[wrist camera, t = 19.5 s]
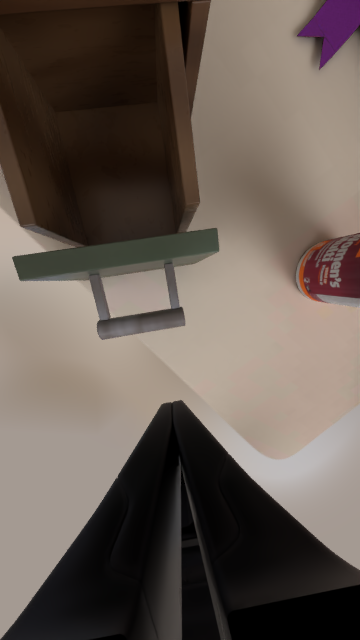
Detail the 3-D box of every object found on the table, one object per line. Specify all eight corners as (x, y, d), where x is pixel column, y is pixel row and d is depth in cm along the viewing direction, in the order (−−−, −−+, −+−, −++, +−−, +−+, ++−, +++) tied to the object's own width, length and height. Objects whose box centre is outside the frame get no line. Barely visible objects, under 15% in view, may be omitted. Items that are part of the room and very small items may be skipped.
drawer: (201, 310, 18) (227, 331, 11) (96, 327, 18) (47, 362, 10) (174, 101, 15) (187, -92, 7) (40, 114, 14) (-103, -78, 6)
